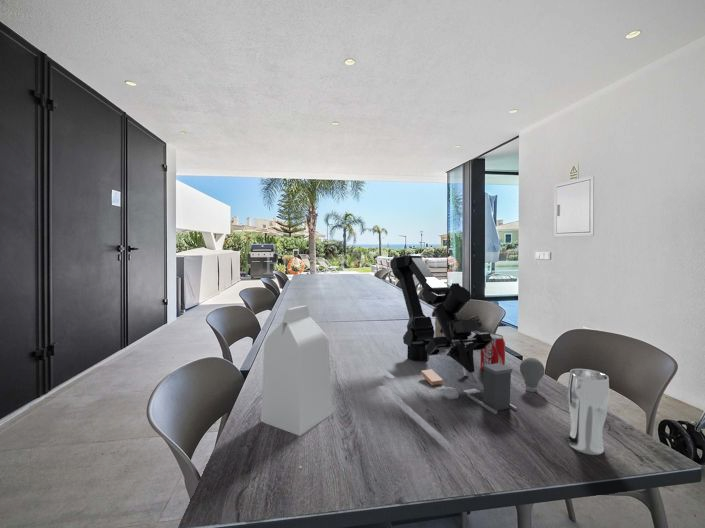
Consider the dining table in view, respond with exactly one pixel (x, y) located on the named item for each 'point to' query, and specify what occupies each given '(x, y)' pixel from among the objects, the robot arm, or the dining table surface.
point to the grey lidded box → (497, 386)
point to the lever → (465, 371)
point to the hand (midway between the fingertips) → (472, 372)
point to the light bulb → (531, 373)
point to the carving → (438, 329)
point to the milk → (296, 374)
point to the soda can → (494, 351)
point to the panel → (454, 394)
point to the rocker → (431, 377)
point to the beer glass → (587, 409)
